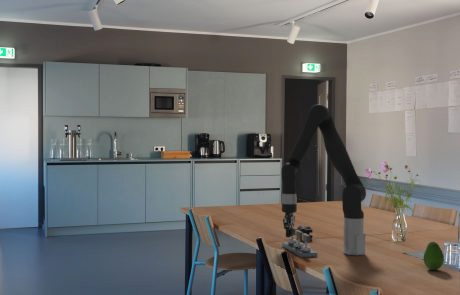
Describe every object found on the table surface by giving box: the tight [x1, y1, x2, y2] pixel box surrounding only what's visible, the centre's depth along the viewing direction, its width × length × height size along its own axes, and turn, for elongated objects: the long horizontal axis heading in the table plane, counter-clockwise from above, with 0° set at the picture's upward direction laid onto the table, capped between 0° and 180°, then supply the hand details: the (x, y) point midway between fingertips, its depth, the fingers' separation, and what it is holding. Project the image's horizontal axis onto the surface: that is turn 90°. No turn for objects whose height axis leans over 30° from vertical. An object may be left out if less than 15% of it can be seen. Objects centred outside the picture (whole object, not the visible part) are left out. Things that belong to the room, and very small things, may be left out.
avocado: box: [423, 241, 445, 271], centre depth 233 cm, size 8×8×12 cm
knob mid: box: [294, 230, 305, 248], centre depth 268 cm, size 6×4×8 cm
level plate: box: [281, 241, 318, 259], centre depth 268 cm, size 26×8×3 cm, turn 14°
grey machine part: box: [296, 225, 314, 242], centre depth 300 cm, size 10×7×7 cm
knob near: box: [301, 234, 312, 251], centre depth 260 cm, size 6×4×8 cm
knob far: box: [287, 227, 298, 244], centre depth 277 cm, size 6×4×8 cm
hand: (288, 236), depth 279 cm, fingers closed on knob far, 2 cm apart
